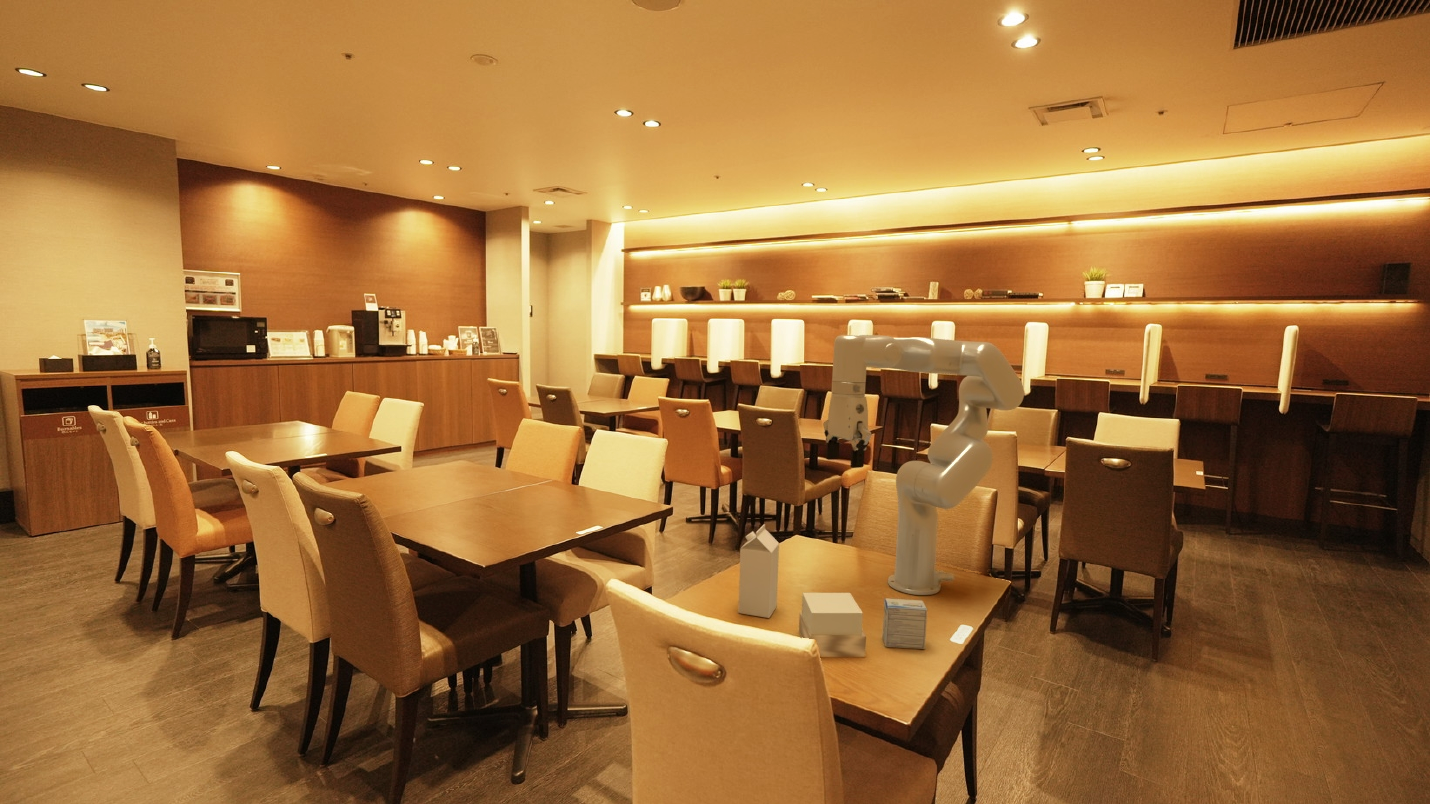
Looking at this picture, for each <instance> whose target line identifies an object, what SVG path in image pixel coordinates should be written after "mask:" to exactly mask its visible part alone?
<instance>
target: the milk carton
mask: <svg viewBox="0 0 1430 804" xmlns="http://www.w3.org/2000/svg"><path fill="white" fill-rule="evenodd" d="M745 539H746V540H747V541H746V542H745V543H744V544H743V545H742V546H741V547H740V549H739V550H740V554H739V579H738V580H739V583H738V584H739V585H738V586H739V587H738V611H737V612H738V614H743V615H748V616H749V615H750V616H754V617H760V618H767V619H769V618H771V616H772V614H773V613H774V612H775V609H776V608H777V605H778V581H779V557H780V556H779V555H780V554H779V552H780V542H778V541H777V539H775V537H774V536H773V535H772V534H771V533H770V532H769V531H768V530H767V529H766V524H765V523H764V524H763V525H762V526H761V527H760V528H758V530H757V531H756V532H754V531H751V532H750V533H748V534H747V535H746V536H745Z"/></svg>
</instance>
